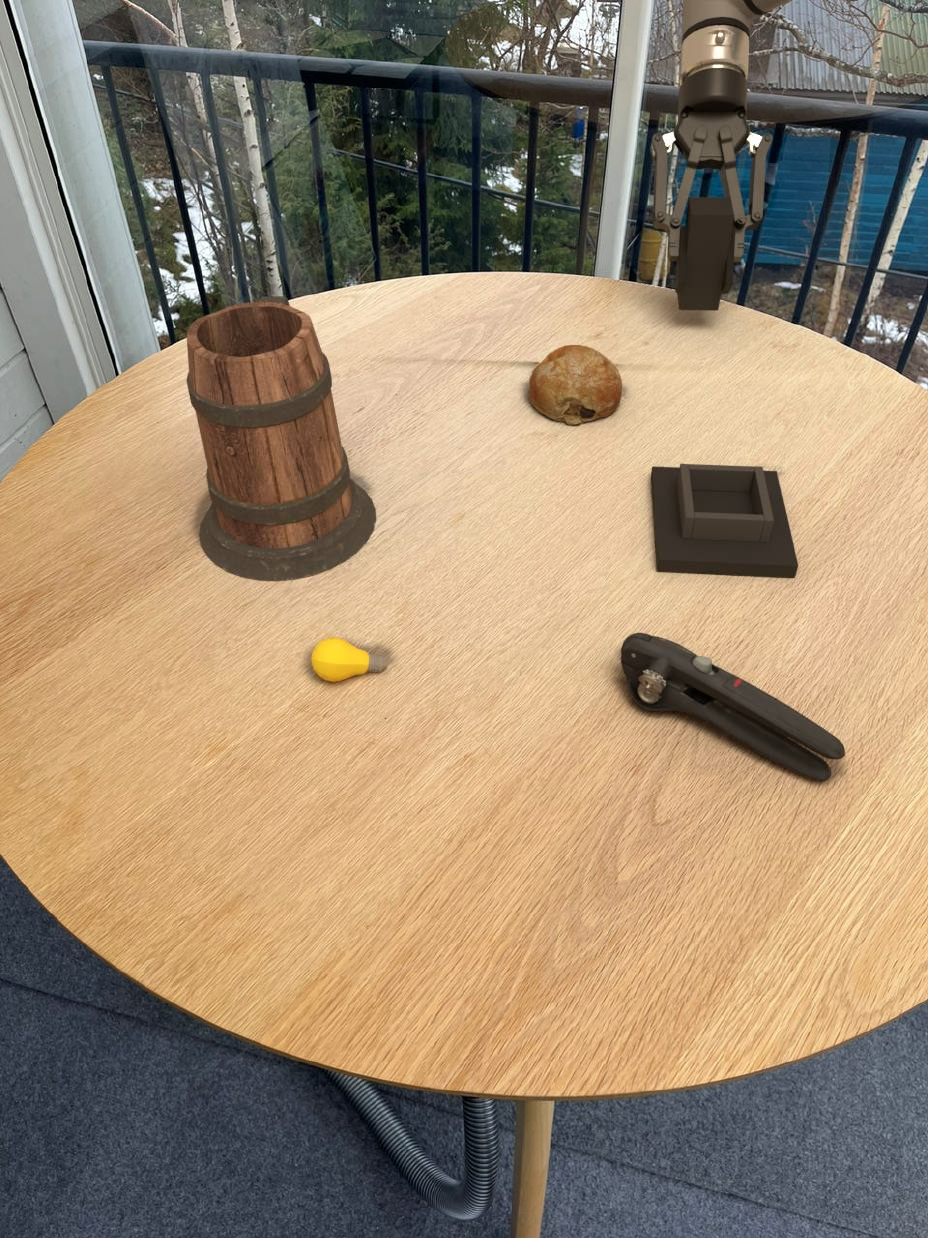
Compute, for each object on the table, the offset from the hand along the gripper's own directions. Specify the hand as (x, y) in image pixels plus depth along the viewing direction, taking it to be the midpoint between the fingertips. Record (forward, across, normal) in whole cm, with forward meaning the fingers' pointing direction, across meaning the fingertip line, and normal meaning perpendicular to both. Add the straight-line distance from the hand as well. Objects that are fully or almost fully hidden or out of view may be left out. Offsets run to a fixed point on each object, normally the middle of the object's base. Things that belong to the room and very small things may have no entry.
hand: (703, 288), depth 106 cm
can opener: (+46, -2, -35) cm, 58 cm away
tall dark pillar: (0, 0, +5) cm, 5 cm away
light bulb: (+44, -31, -33) cm, 63 cm away
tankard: (+28, -41, -17) cm, 53 cm away
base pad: (+29, 0, -18) cm, 34 cm away
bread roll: (+14, -14, -3) cm, 20 cm away
